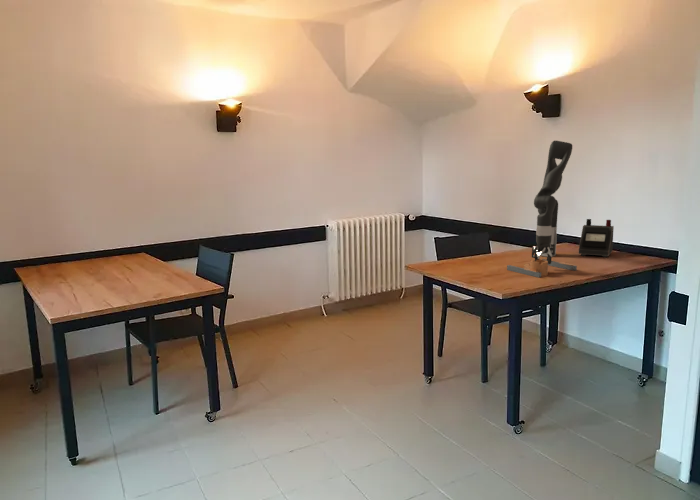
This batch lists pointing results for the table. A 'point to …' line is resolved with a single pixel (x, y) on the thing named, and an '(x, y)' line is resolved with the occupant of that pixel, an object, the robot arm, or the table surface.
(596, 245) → the voltmeter
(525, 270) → the guide rails
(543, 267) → the bracket
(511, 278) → the table surface
